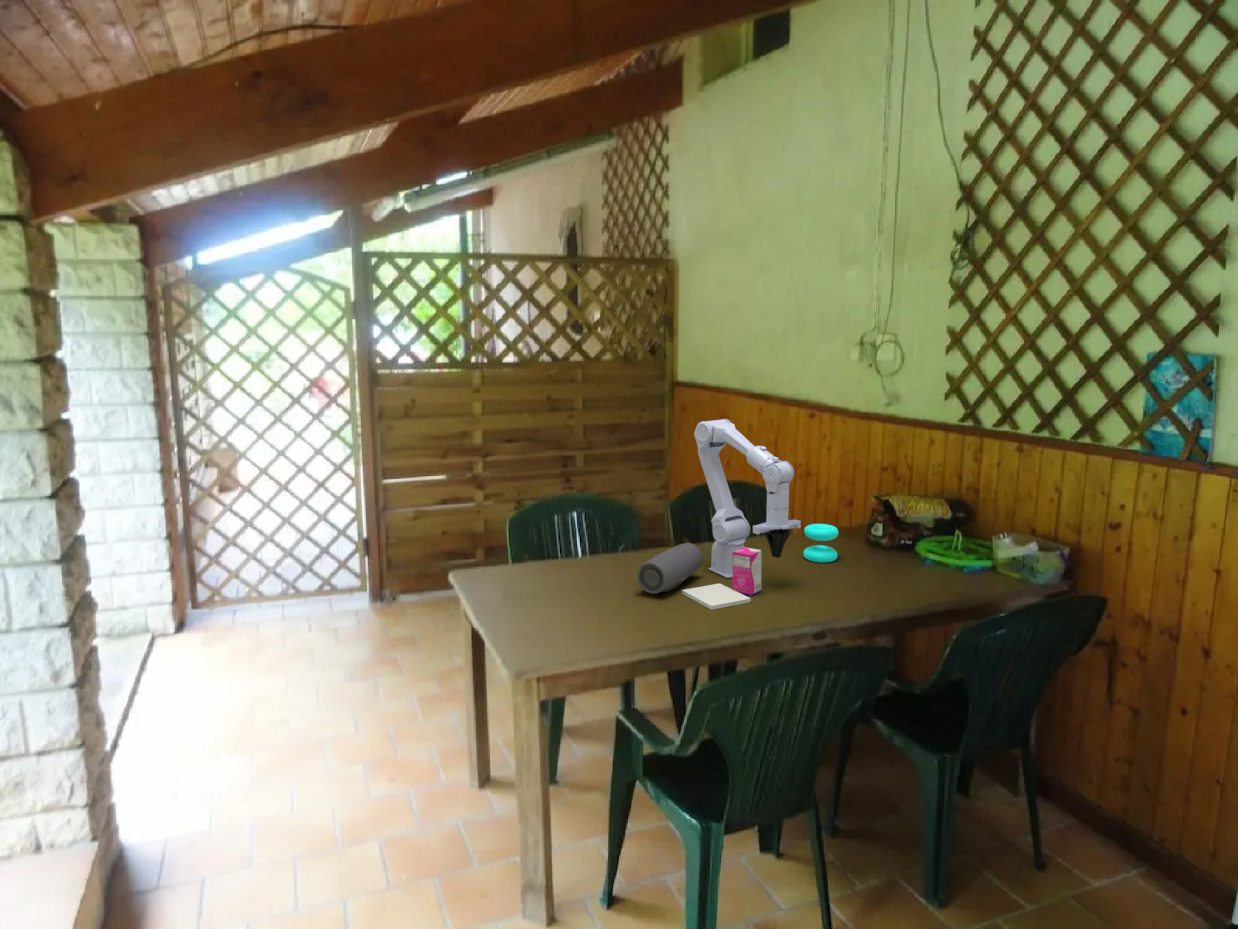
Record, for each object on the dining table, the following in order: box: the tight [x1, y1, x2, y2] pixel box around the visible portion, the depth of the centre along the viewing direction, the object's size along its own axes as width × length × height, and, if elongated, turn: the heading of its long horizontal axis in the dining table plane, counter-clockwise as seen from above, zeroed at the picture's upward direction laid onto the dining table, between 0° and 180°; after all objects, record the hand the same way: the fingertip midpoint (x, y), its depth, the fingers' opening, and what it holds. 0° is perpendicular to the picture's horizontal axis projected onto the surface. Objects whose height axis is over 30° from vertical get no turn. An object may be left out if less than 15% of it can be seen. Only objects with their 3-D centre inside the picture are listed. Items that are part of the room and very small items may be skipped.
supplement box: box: [732, 546, 762, 598], centre depth 217 cm, size 6×6×12 cm
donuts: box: [803, 523, 839, 564], centre depth 248 cm, size 10×10×10 cm
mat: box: [681, 583, 752, 610], centre depth 214 cm, size 14×12×1 cm
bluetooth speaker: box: [637, 542, 704, 594], centre depth 223 cm, size 23×9×10 cm, turn 149°
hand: (776, 556), depth 221 cm, fingers closed
